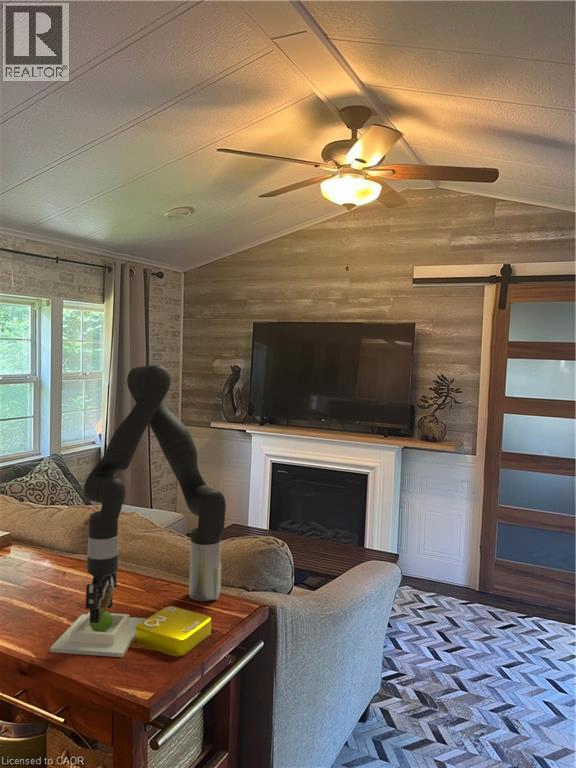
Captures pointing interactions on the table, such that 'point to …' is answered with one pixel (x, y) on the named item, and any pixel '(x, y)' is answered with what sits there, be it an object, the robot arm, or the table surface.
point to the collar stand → (98, 637)
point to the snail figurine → (103, 614)
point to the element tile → (173, 631)
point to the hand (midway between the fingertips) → (101, 614)
